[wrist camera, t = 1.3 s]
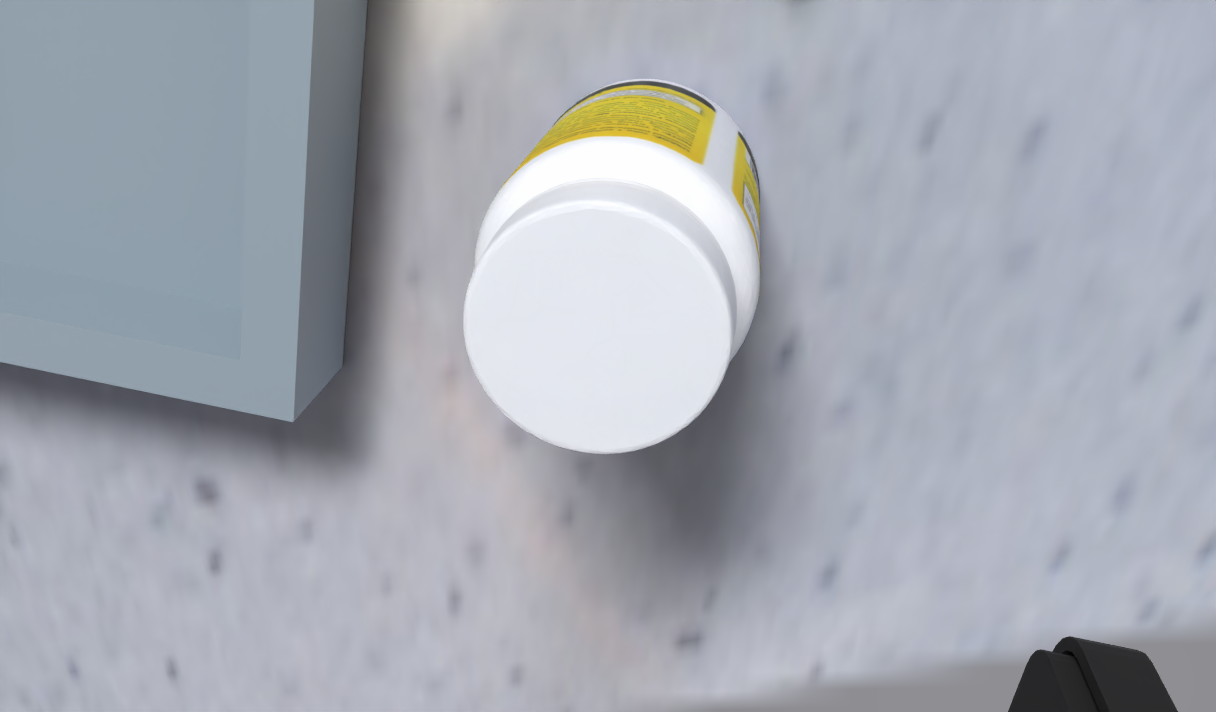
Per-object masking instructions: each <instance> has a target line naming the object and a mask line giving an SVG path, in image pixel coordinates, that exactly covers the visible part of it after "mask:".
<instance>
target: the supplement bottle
mask: <svg viewBox="0 0 1216 712" xmlns="http://www.w3.org/2000/svg"><path fill="white" fill-rule="evenodd" d="M759 293H760V191H759V179H758V173H757V168H756V164H755V160H754V157H753V154H752V151H751V149H750V147H749V144H748V142H747V140H746V139H745V137H744V135H743V133H742V132H741V130H740V129H739V127H738V126H737V125H736V123H735V122H734V121H733V120H732V119H731V117H730V116H729V115H728V114H727V113H726V112H724V111H723V110H722V109H721V108H720V107H719V106H718V105H717V104H715V103H714V102H712V101H711V100H710V99H708V98H707V97H705V96H703V95H702V94H700V93H698V92H696V91H694V90H692V89H690V88H688V87H685V86H683V85H680V84H677V83H673V82H669V81H665V80H658V79H633V80H625V81H620V82H616V83H613V84H610V85H607V86H605V87H602V88H600V89H598V90H596V91H594V92H592V93H590V94H588V95H586V96H585V97H583V98H582V99H581V100H579V101H578V102H577V103H575V104H574V105H573V106H572V107H571V108H569V109H568V110H567V111H566V112H565V113H564V114H563V115H562V116H561V117H560V118H559V119H558V120H557V121H556V122H555V123H554V125H553V126H552V128H551V129H550V130H549V131H548V133H547V134H546V135H545V136H544V137H543V139H542V140H541V141H540V142H539V143H538V144H537V146H536V147H535V148H534V149H533V150H532V152H531V153H530V154H529V155H528V156H527V157H526V159H525V160H524V161H523V162H522V163H521V165H520V166H519V167H518V168H517V169H516V170H515V171H514V173H513V174H512V175H511V177H510V178H509V179H508V180H507V181H506V182H505V183H504V185H503V186H502V187H501V189H500V190H499V192H498V193H497V195H496V196H495V198H494V199H493V201H492V203H491V205H490V206H489V208H488V211H487V213H486V215H485V217H484V219H483V222H482V225H481V229H480V232H479V235H478V239H477V244H476V250H475V258H474V271H473V274H472V277H471V279H470V282H469V285H468V288H467V292H466V297H465V303H464V309H463V332H464V338H465V344H466V349H467V353H468V357H469V361H470V363H471V365H472V368H473V370H474V373H475V375H476V377H477V379H478V381H479V383H480V384H481V386H482V387H483V389H484V390H485V392H486V393H487V395H488V396H489V398H490V399H491V400H492V401H493V403H494V404H495V405H496V406H497V407H498V408H499V409H500V410H501V411H502V412H503V413H504V414H505V415H506V416H507V417H508V418H509V419H511V420H512V421H513V422H514V423H515V424H516V425H518V426H519V427H521V428H522V429H524V430H525V431H527V432H528V433H530V434H532V435H533V436H535V437H537V438H539V439H541V440H543V441H545V442H547V443H550V444H553V445H556V446H558V447H561V448H564V449H568V450H572V451H577V452H584V453H593V454H617V453H626V452H631V451H635V450H640V449H643V448H647V447H650V446H653V445H655V444H657V443H659V442H662V441H664V440H666V439H668V438H669V437H671V436H673V435H675V434H676V433H678V432H679V431H681V430H682V429H683V428H685V427H686V426H688V425H689V424H690V423H691V422H692V421H693V420H694V419H696V418H697V417H698V416H699V415H700V414H701V413H702V411H703V410H704V409H705V408H706V407H707V405H708V404H709V403H710V401H711V400H712V398H713V397H714V395H715V394H716V392H717V391H718V389H719V387H720V385H721V383H722V381H723V378H724V376H725V373H726V371H727V368H728V365H729V362H730V361H731V360H732V358H733V357H734V356H735V354H736V353H737V352H738V350H739V348H740V347H741V345H742V343H743V342H744V340H745V338H746V335H747V333H748V331H749V328H750V326H751V324H752V321H753V318H754V315H755V311H756V307H757V303H758V298H759Z"/></svg>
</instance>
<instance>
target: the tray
mask: <svg viewBox="0 0 1216 712" xmlns="http://www.w3.org/2000/svg"><path fill="white" fill-rule="evenodd" d="M367 1H368V0H0V362H3V363H8V364H13V365H17V366H22V367H27V368H32V369H37V370H42V371H47V372H51V373H56V374H61V375H66V376H71V377H76V378H81V379H85V380H90V381H95V382H100V383H105V384H110V385H115V386H119V387H124V388H129V389H134V390H139V391H144V392H148V393H153V394H158V395H163V396H168V397H173V398H178V399H182V400H187V401H192V402H197V403H202V404H207V405H212V406H216V407H221V408H226V409H231V410H236V411H241V412H246V413H250V414H255V415H260V416H265V417H270V418H275V419H279V420H284V421H289V422H294V421H295V420H296V419H297V418H298V417H299V415H300V414H301V413H302V412H303V411H304V410H305V409H306V408H307V406H308V405H309V404H310V403H311V402H312V401H313V400H314V398H315V397H316V396H317V395H318V394H319V393H320V392H321V391H322V389H323V388H324V387H325V386H326V385H327V384H328V383H329V381H330V380H331V379H332V378H333V377H334V376H335V375H336V373H337V372H338V371H339V370H340V369H341V368H342V366H343V352H344V337H345V322H346V308H347V293H348V279H349V264H350V249H351V235H352V220H353V205H354V191H355V176H356V162H357V147H358V132H359V118H360V103H361V89H362V74H363V59H364V45H365V30H366V16H367Z"/></svg>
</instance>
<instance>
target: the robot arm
mask: <svg viewBox="0 0 1216 712" xmlns="http://www.w3.org/2000/svg"><path fill="white" fill-rule="evenodd" d="M1008 712H1178V711H1177V709H1176V707H1175V705H1174V704H1173V702H1172V700H1171V698H1170V696H1169V694H1168V692H1167V690H1166V688H1165V686H1164V684H1163V683H1162V681H1161V679H1160V677H1159V675H1158V673H1157V671H1156V669H1155V667H1154V665H1153V663H1152V662H1151V660H1149V658H1148V656H1147V655H1146V654H1145V653H1143V652H1141V651H1138V650H1134V649H1129V648H1124V647H1120V646H1115V645H1110V644H1105V643H1100V642H1095V641H1090V640H1085V639H1080V638H1075V637H1070V636H1069V637H1066V638H1063V639H1062V640H1061V641H1060V642H1059V643H1058V644H1057V645H1056V646H1055V648H1054V650H1053V652H1051V651H1046V650H1037V651H1035V652H1034V653H1033V654H1032V656H1031V657H1030V659H1029V661H1028V663H1027V665H1026V668H1025V670H1024V673H1023V675H1022V678H1021V680H1020V683H1019V685H1018V688H1017V690H1016V693H1015V695H1014V698H1013V701H1012V703H1011V706H1010V708H1009V711H1008Z"/></svg>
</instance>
